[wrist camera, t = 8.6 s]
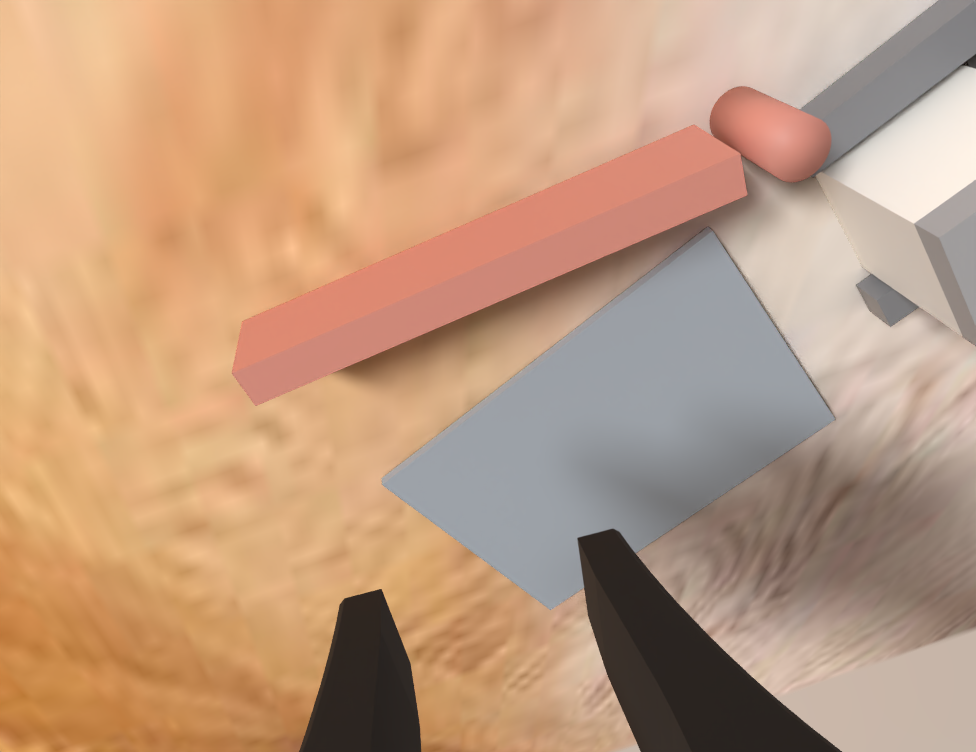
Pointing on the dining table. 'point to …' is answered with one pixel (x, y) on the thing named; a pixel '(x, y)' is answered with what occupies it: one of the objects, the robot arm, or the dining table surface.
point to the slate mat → (619, 426)
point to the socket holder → (895, 101)
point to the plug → (917, 201)
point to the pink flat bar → (527, 243)
